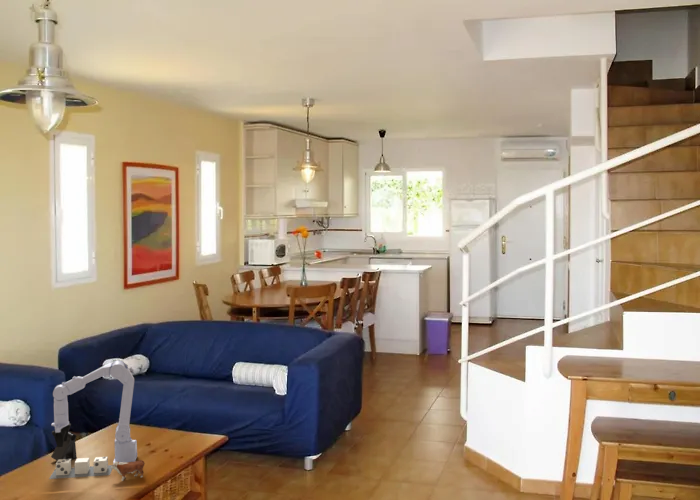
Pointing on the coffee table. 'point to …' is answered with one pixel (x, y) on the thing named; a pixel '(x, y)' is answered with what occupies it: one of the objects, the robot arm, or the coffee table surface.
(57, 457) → the door stopper
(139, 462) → the bull figurine
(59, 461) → the birch block three pips
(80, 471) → the birch block plain
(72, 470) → the slate mat
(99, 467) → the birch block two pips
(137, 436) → the coffee table surface
